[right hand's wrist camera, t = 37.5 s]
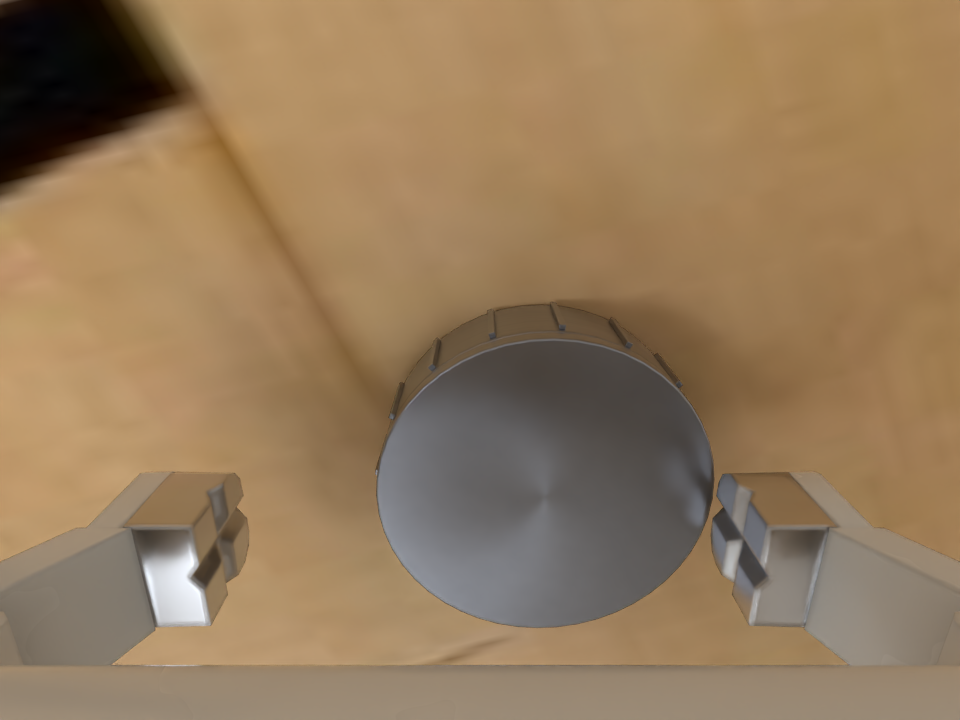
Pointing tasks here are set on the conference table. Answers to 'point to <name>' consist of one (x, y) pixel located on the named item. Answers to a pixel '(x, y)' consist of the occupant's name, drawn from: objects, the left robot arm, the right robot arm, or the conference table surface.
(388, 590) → the conference table surface
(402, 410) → the lid
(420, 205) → the conference table surface
